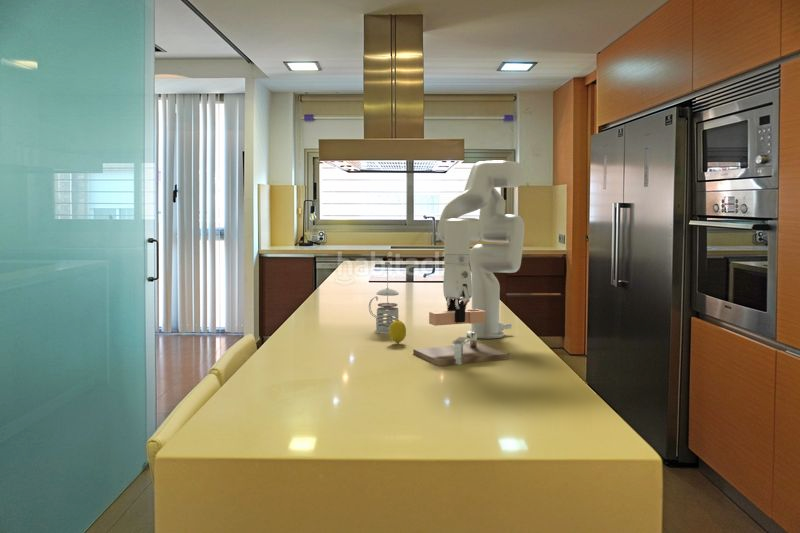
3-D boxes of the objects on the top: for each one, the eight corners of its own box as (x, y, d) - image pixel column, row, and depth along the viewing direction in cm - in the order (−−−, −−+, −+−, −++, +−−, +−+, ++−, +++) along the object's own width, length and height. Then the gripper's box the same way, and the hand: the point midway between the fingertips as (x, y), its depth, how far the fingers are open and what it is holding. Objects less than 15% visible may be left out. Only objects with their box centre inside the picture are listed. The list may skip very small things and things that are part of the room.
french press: (398, 334, 239) (398, 262, 236) (365, 333, 241) (365, 262, 239) (403, 329, 248) (403, 260, 246) (372, 328, 251) (372, 260, 248)
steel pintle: (474, 346, 211) (474, 331, 211) (477, 347, 209) (478, 333, 209) (468, 346, 210) (469, 332, 210) (472, 348, 209) (472, 333, 208)
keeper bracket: (459, 358, 202) (459, 336, 201) (470, 359, 201) (471, 337, 200) (451, 364, 194) (451, 342, 194) (463, 365, 193) (463, 342, 193)
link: (476, 320, 212) (476, 308, 212) (485, 322, 208) (485, 311, 207) (428, 323, 206) (428, 311, 205) (436, 326, 201) (436, 314, 200)
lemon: (404, 345, 219) (404, 321, 219) (387, 345, 220) (387, 320, 220) (407, 342, 225) (407, 318, 224) (391, 341, 226) (391, 317, 225)
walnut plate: (479, 347, 217) (479, 342, 217) (509, 358, 201) (509, 353, 201) (413, 354, 207) (413, 349, 207) (439, 366, 192) (439, 360, 192)
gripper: (482, 261, 199) (481, 324, 200) (454, 258, 214) (453, 316, 216) (459, 262, 196) (458, 326, 197) (432, 258, 211) (432, 317, 212)
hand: (456, 320), depth 206 cm, fingers closed on link, 4 cm apart
